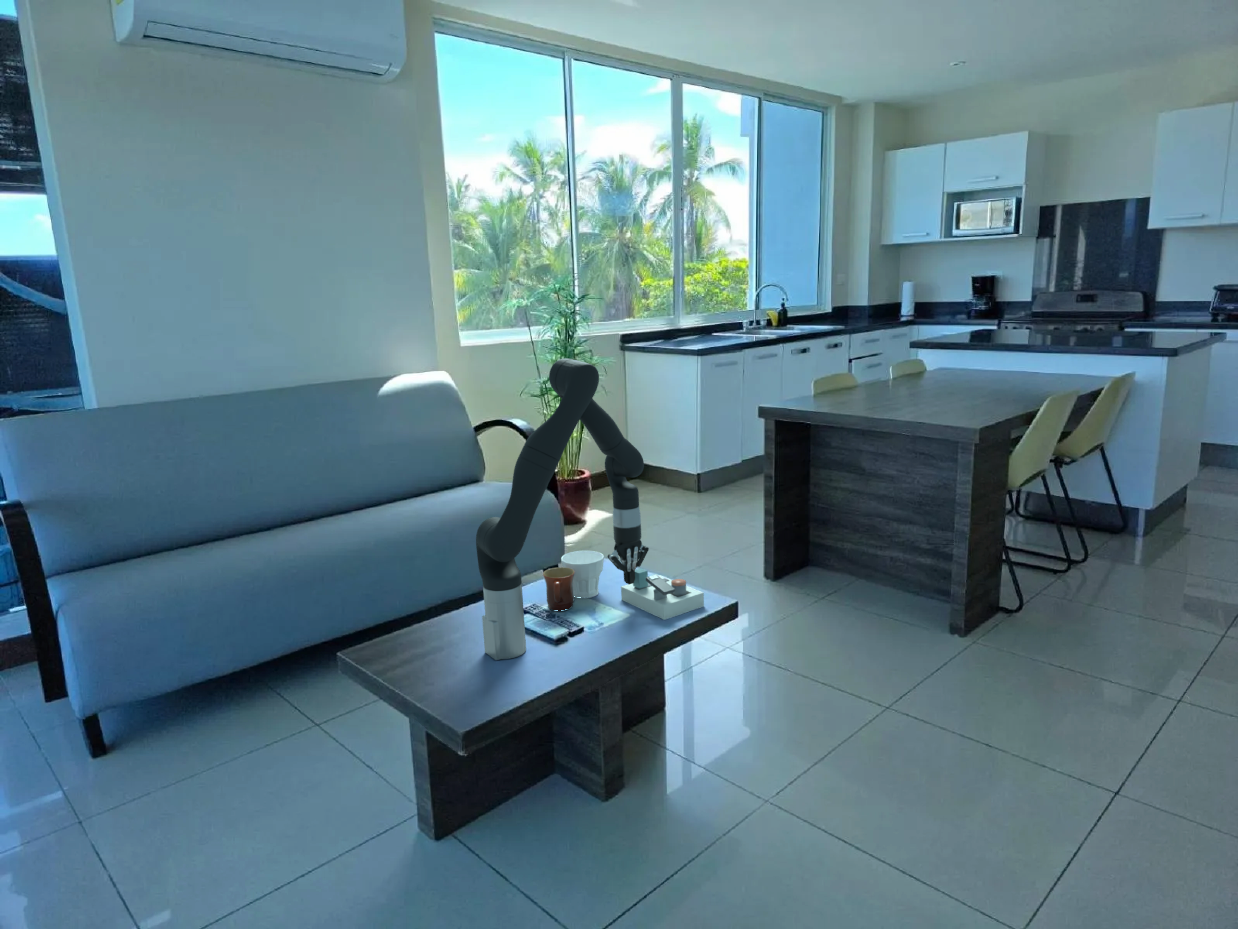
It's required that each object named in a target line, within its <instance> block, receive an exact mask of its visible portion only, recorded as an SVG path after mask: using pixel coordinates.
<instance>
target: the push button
mask: <svg viewBox="0 0 1238 929" xmlns="http://www.w3.org/2000/svg"><path fill="white" fill-rule="evenodd" d="M671 580H672V581H671V586H672V587H673V588H674V589H675V592H673V593H672V595H674V596H676V597H681V596H684V595H686V586H687V581H686V580H685V579H683V578H675V579H671Z"/></svg>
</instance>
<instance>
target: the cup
mask: <svg viewBox="0 0 1238 929" xmlns="http://www.w3.org/2000/svg"><path fill="white" fill-rule="evenodd" d="M604 559H605V556H604V554H603V553H601V552H600V551H596V550H595V551H594V550H575V551H570V552H568V553H564V554H563V555H562V556H561V558H560V560H561V564H562V567H565V568H570V569H573V570H574V571H575V573H574V577H573V596H575V597H581V598H584V599H591V598H594V597H596V596H598V595H599V592H600V591H599V584H600V576H601V574H602V572H603V571H604ZM581 598H580V599H581Z"/></svg>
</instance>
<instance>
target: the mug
mask: <svg viewBox="0 0 1238 929" xmlns="http://www.w3.org/2000/svg"><path fill="white" fill-rule="evenodd" d="M574 573H575V571H574V570H573V569H570V568H565V567H563V566H562V567H561V566H559V567H552V568H548V569H546V570H544V571H543V572H542V576H543V579H544V581H545V586H546V588H545V590H546V603H547V607H548V609H549V610H551V609H552V610H551V611H553V610H558V611H557V612H562V611H561V610H565V609H569V610H570V609H572V607H573V606H574V603H575V602H574V601H575V598H574V596H573V577H574Z"/></svg>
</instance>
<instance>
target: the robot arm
mask: <svg viewBox="0 0 1238 929" xmlns="http://www.w3.org/2000/svg"><path fill="white" fill-rule="evenodd" d="M548 379H549V384H550V386H551V388H552V390H553V391H554V392H555V393H556V394H557V396H558V397H560V399H561V400H560V402H559V404H558V406H557V408H556V409H555V411H554V413H552V414H551V416H549V418H547V419H546V420H545V421H544V422H543V423H541V424H540V425H539V427H537V428H536V429H535V430H534V431H533V432H532V433H530V435H529V436H528V437H527V439H526V440H525V442H524V445H523V447H522V449H521V450H520V453H519V455H518V457H517V460H516V462H515V466H514V469H513V473H512V474H513V476H512V483H511V490H510V495H509V498H508V502H507V505H506V506H505V508H504V511H503V512H502V515H501V517H498V516H493V517H489V518H486V519H485V520H483V521H482V522H481V523H480V524H479V526H478V528H477V531H476V536H475V547H476V548H475V549H476V555H477V556H476V557H477V565H478V566H477V567H478V572H479V574H480V577H481V582H482V586H483V587H482V590H483V602H484V603H483V604H484V614H483V615H482V616H481V620H482V621H481V622H482V632H483V633H482V634H483V643H484V644H483V645H484V653H486V654H487V655H488V656H489V657H490V658H492V659H494V660H495V661H499V660H507V659H510V660H511V659H513V658H514V659H515V658H517V657H520V656H522V655H523V654H524V653H526V651H527V642H526V640H527V639H526V629H525V628H526V626H525V614H524V597H523V596H524V594H523V585H522V581H523V580H522V574H521V573H522V572H521V570H520V569H519V567H518V564H517V562H516V557H517V556H518V555H519V554H520V552H522V549H523V547H524V545H525V543H526V539H527V536H528V534H529V530H530V527H531V525H532V522H533V519H534V516H535V514H536V511H537V509H538V507H539V505H540V503H541V501H542V499H543V496H544V494H545V492H546V491H547V488H548V486H549V483H550V482H551V479H552V478H553V476H554V473H555V471H556V469H557V467H558V464H559V462H560V460H561V458H562V456H563V455H564V454H563V453H564V451H565V449H566V447H567V445H568V443H569V441H570V439H571V437H572V434H573V433H574V431H575V429H576V427H577V425H578V423H579V421H580V422H581V423H582V425H583V426H584V428H585V429H586V430H587V432H588V433H589V434H590V436H591V437H592V439H593V441H594V442H595V444H596V446H597V447H598V449H599V450H600V451H601V453H602V454H603V455H605V456H606V457H605V460H604V470H605V474H606V476H607V480H608V482H609V483H608V484H609V487H610V489H611V492H612V507H613V508H612V509H613V510H612V524H613V525H612V526H613V528H612V529H613V539H614V547H613V551H612V553H609V554H608V555H607V558H608V559H609V561H610V562H611V563H612V564H613V566H615V568H616V569H618V570H620V571H622V572H623V582H624V583H625V584H626V585H628V584H632V583H634V581H635V570H636V569H638V568H641V566H642V564H643V562H644V561H645V560H644V559H645V557H646V556H647V554H648V552H649V550H650V549H649V547H648V546H646V545H643V543H642V540H641V539H642V523H641V522H642V519H641V511H640V509H641V508H640V499H639V498H640V496H639V488H638V487H637V486H636V485H635V484H632V483H631V482H629V481H628V480H627V478H637V477H638V476H640V475H641V474H642V473H643V471H644V468H645V463H644V461H645V460H644V458H643V455H642V454H641V452H640V451H639V450H638V448H636V447H635V445H633V444H632V443H631V442H630V441H629V440H628V439H627V438H625V437H624V435H623V433H622V432H621V430H620V429H619V428H620V427H619V426H618V424H616V422H615V420H614V419H613V417H611V415H609V413H608V412H607V411H605V410H604V408H603V407H602V406H600V405H599V404H598V403H597V402H596V400H594V397H595V394H596V393H597V392H596V391H597V390H598V386H599V382H600V373H599V371H598V369H597V367H596V366H595V365H594V364H591V363H588V362H584V361H580V360H576V359H572V358H560V359H558V360H556V361H555V362H554V363H553V364H552V366H551V367H550V369H549V375H548Z"/></svg>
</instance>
